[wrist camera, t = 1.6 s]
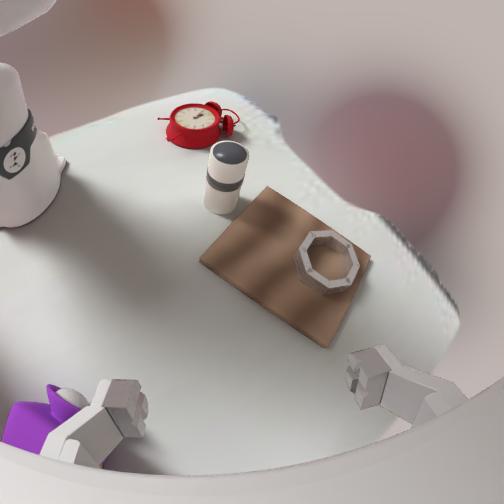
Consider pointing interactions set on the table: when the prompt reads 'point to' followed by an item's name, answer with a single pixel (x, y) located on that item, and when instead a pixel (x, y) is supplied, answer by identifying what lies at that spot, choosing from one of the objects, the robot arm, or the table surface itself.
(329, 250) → the walnut mount plate
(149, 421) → the table surface
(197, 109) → the alarm clock
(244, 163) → the white lens
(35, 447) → the toy camera
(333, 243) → the ring
